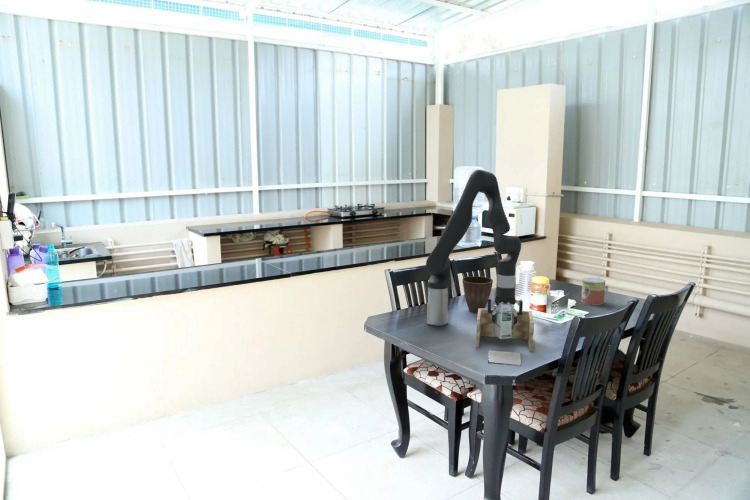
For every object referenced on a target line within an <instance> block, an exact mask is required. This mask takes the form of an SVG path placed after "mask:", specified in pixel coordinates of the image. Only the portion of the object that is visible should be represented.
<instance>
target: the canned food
mask: <svg viewBox="0 0 750 500" xmlns="http://www.w3.org/2000/svg"><path fill="white" fill-rule="evenodd" d="M605 289H606V280H605V279H604V278H603V279H602V278H599V277H583V278H582V284H581V298H580V302H581V303H582V302H583V304H585V303H586V304H585V305H589V304H592V305H591V306H600V305H601V304H602V305H604V304H605Z"/></svg>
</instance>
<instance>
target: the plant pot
mask: <svg viewBox="0 0 750 500" xmlns="http://www.w3.org/2000/svg"><path fill="white" fill-rule="evenodd" d="M461 280H462V289H463V293H464V298H465V302H466V305H467V308H468V311H470V312H471V313H478V308H481V309H486V307H487V306H488V298H490V296H491V291H492V288H493V283H494V282H493V281H494V280H493V278H490V277H486V276H479V275H478V276H477V275H475V276H473V275H472V276H465V277H463V278H462V279H461Z"/></svg>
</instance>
